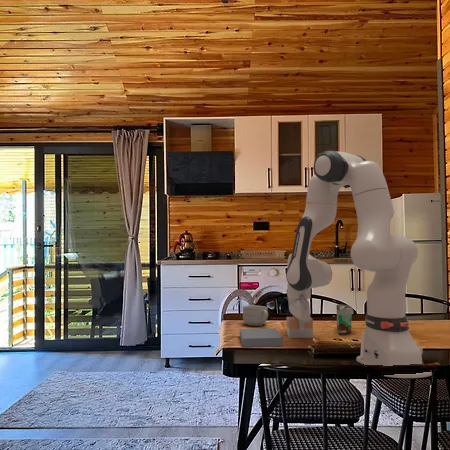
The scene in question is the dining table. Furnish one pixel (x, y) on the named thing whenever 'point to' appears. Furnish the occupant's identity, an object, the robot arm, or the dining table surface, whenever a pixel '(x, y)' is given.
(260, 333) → the stand
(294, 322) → the housing cover
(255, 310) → the teacup
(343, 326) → the food container
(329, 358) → the dining table surface
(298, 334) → the housing base
